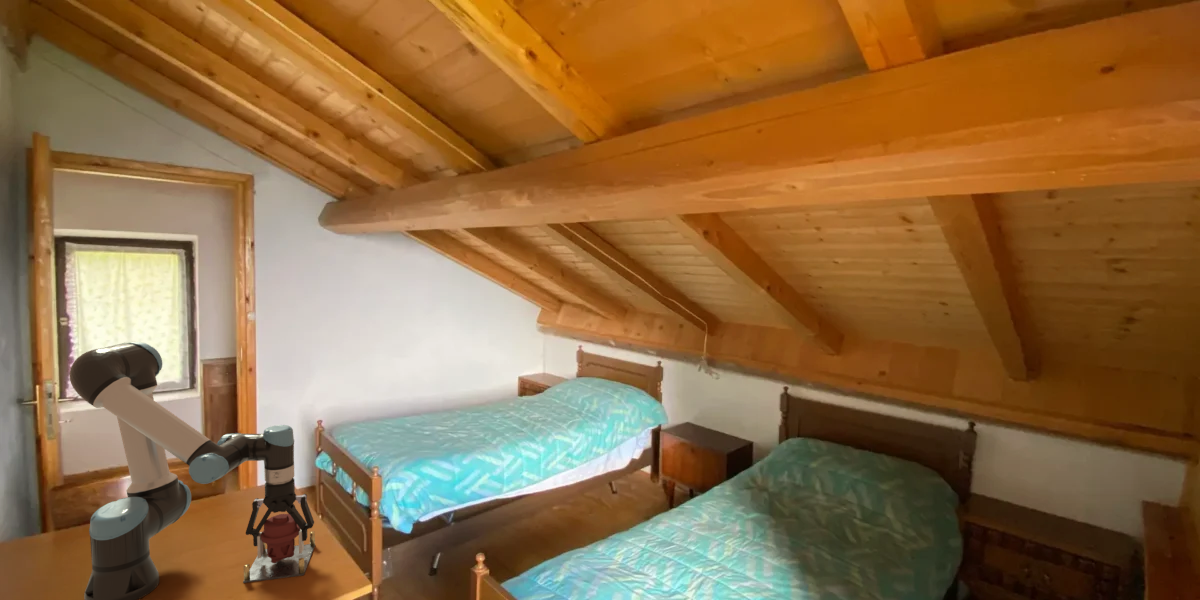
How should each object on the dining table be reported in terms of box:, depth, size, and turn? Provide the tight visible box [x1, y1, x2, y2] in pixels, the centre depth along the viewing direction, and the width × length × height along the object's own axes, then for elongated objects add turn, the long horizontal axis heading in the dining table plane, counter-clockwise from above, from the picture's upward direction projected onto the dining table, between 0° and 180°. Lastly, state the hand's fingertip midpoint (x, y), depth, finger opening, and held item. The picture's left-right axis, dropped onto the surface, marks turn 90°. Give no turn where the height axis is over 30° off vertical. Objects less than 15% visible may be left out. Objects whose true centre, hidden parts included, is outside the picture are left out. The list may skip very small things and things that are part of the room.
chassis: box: [243, 530, 316, 584], centre depth 165 cm, size 15×17×4 cm
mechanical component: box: [261, 513, 300, 563], centre depth 165 cm, size 12×10×10 cm
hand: (281, 553), depth 165 cm, fingers closed on mechanical component, 10 cm apart
